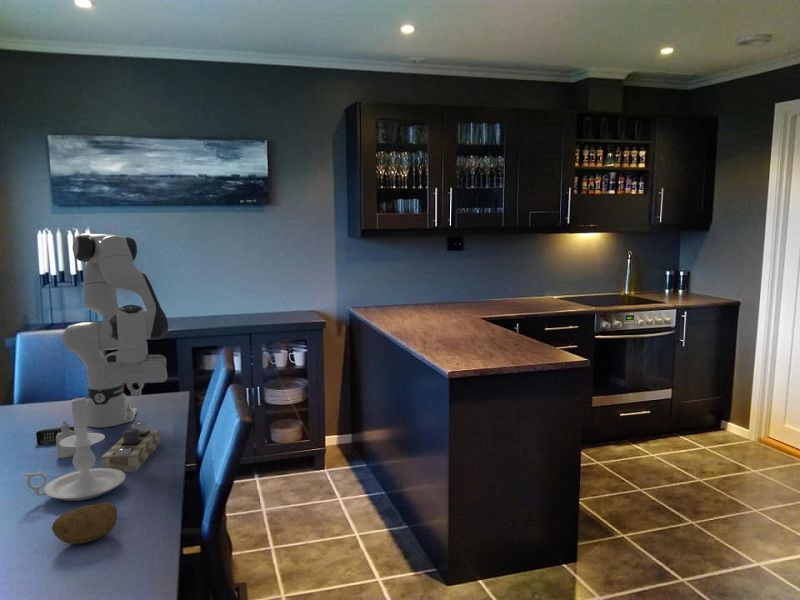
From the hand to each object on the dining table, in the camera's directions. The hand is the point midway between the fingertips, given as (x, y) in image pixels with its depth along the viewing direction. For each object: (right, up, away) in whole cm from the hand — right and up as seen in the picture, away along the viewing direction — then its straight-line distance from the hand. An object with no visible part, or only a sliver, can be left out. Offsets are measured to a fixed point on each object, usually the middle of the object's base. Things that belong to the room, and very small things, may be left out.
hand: (136, 395), depth 208 cm
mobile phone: (-31, -18, +11) cm, 37 cm away
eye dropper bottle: (-21, -20, -3) cm, 29 cm away
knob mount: (+1, -19, -6) cm, 20 cm away
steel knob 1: (+2, -19, -14) cm, 24 cm away
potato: (+13, -26, -58) cm, 65 cm away
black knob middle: (+1, -15, -6) cm, 16 cm away
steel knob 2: (0, -14, +2) cm, 15 cm away
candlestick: (-3, -23, -33) cm, 40 cm away
